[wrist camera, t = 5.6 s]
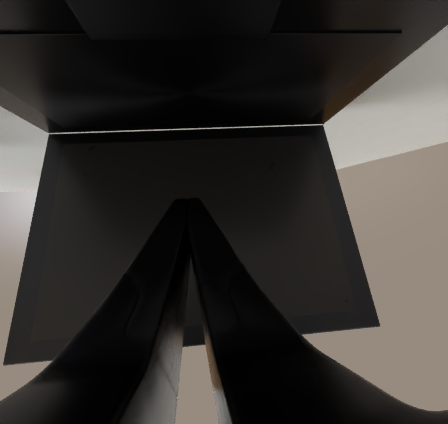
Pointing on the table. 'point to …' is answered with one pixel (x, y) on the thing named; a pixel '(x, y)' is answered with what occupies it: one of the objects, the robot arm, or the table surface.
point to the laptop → (200, 59)
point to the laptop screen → (218, 208)
